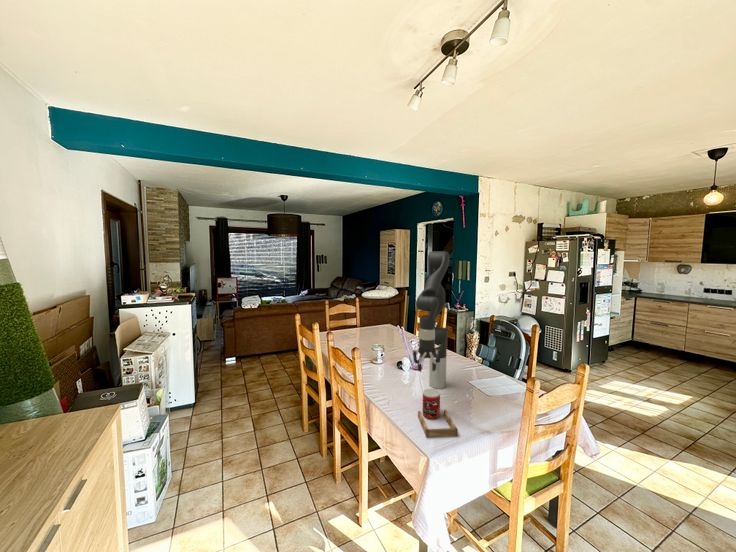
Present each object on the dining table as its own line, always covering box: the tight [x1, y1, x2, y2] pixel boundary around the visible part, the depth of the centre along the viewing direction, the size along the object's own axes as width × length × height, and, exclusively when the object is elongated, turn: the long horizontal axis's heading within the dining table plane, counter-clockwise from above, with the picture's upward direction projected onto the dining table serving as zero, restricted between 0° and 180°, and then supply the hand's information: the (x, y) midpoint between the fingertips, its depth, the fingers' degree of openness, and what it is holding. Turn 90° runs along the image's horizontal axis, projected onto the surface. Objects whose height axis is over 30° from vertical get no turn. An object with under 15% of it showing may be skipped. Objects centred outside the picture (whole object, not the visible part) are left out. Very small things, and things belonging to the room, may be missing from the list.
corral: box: [417, 409, 459, 439], centre depth 133 cm, size 15×13×3 cm
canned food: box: [422, 388, 441, 420], centre depth 142 cm, size 8×8×11 cm
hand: (426, 370), depth 149 cm, fingers open, 6 cm apart
